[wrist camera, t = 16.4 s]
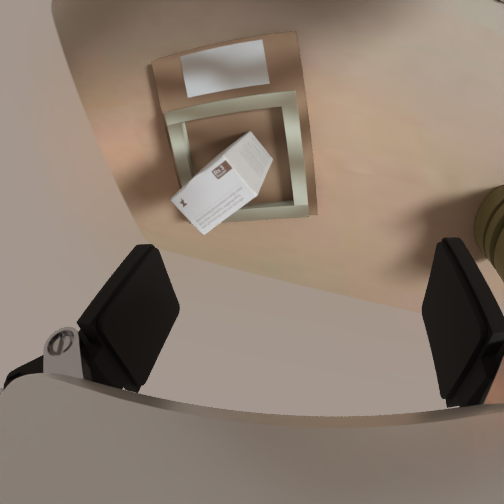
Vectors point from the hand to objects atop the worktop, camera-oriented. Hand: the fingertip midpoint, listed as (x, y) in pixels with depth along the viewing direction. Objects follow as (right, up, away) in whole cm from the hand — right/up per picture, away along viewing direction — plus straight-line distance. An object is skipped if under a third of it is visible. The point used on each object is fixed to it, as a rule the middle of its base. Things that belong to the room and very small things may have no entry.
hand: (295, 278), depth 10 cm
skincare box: (-3, +11, +23) cm, 26 cm away
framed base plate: (-3, +14, +23) cm, 27 cm away
